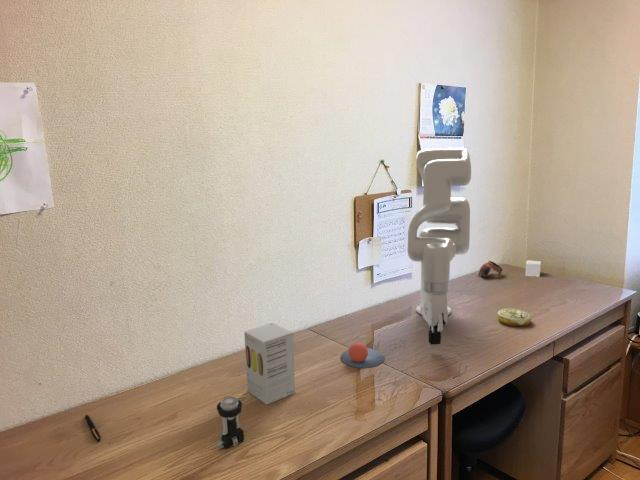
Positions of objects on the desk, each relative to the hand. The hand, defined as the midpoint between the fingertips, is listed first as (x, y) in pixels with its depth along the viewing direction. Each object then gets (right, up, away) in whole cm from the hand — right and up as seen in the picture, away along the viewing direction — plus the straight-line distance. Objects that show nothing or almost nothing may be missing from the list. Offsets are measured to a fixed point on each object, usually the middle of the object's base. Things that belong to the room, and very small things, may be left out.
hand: (434, 343), depth 146 cm
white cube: (+64, +15, +77) cm, 101 cm away
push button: (-54, -13, -41) cm, 69 cm away
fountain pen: (-88, -13, -34) cm, 95 cm away
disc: (-22, -4, -2) cm, 22 cm away
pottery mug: (+43, +14, +76) cm, 88 cm away
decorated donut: (+33, +2, +23) cm, 40 cm away
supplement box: (-47, -9, -20) cm, 52 cm away
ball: (-23, -2, -5) cm, 24 cm away
